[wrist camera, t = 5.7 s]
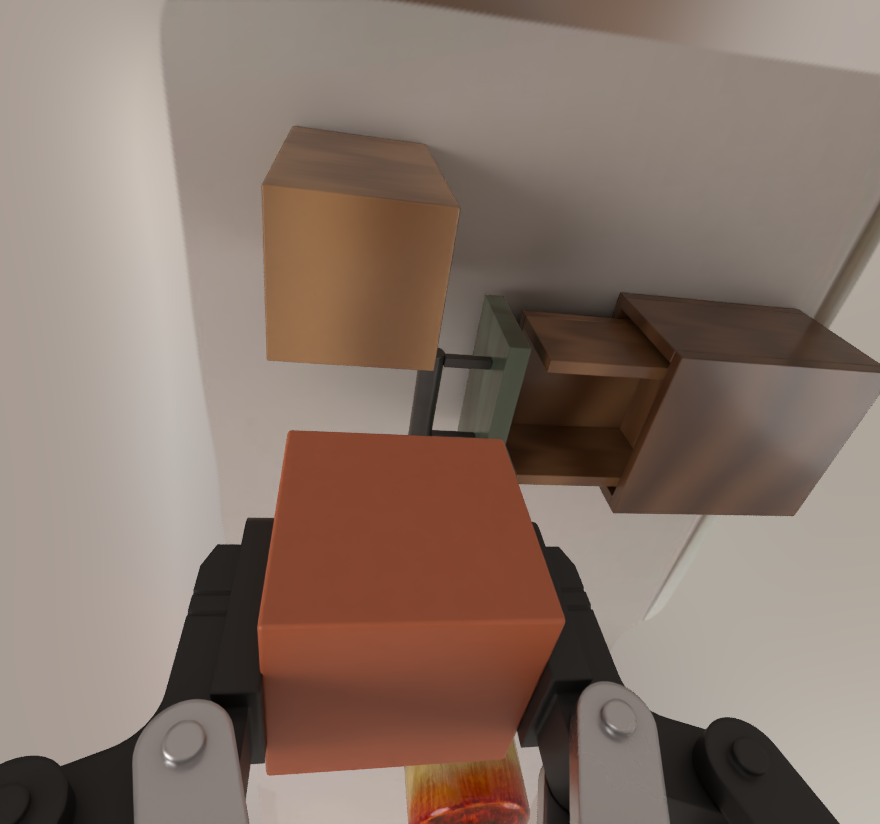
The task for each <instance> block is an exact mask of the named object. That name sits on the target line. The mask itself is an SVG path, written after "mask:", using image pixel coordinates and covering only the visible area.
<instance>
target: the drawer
mask: <svg viewBox="0 0 880 824" xmlns="http://www.w3.org/2000/svg"><path fill="white" fill-rule="evenodd" d="M443 365H444V367H454V368H469V369H470V372H469V377H468V381H467V386H466V391H465V396H464V401H463V406H462V411H461V416H460V420H459V425H458V431H439V430H432V426H433V421H434V415H435V409H436V403H437V398H438V392H439V386H440V380H441V374H442V369H443ZM669 365H670V362H669V361H668V360H667V359H666V357H665V356H664V355H663V354H662V353H661V352H660V351H659V350H658V349H657V347H656V346H655V345H654V344H653V343H652V342H651V341H650V340H649V339H648V337H647V336H646V335H645V334H644V333H643V332H642V331H641V330H640V329H639V327H638V326H637V325H636V324H635V323H634V322H633V321H632V320H628V319H616V318H604V317H593V316H581V315H569V314H558V313H546V312H535V311H523V312H522V316H521V320H520V324H519V325H518V323H517V321H516V319H515V317H514V315H513V313H512V311H511V309H510V307H509V306H508V304H507V302H506V300H505V298H504V296H497V295H485V299H484V304H483V309H482V313H481V318H480V323H479V328H478V333H477V338H476V343H475V347H474V352H473V355H458V354H445V352H444V351H443V350H442V349H440V348H437V355H436V361H435V367H434V370H433V371H426V370H418V371H417V378H416V385H415V392H414V399H413V406H412V413H411V419H410V426H409V433H408V435H416V436H440V437H464V438H488V439H502V440H503V441H504V444H505V447H506V450H507V453H508V456H509V458H510V461H511V464H512V467H513V470H514V473H515V476H516V479H517V481H518V484H533V485H572V486H612V487H617V485H618V482H619V480H620V478H621V476H622V473H623V471H624V469H625V466H626V464H627V462H628V460H629V457H630V455H631V453H632V450H633V448H634V446H635V443H636V441H637V439H638V437H639V434H640V432H641V430H642V427H643V425H644V423H645V421H646V418H647V416H648V414H649V411H650V409H651V407H652V404H653V402H654V400H655V398H656V395H657V393H658V391H659V388H660V386H661V384H662V382H663V379H664V377H665V375H666V372H667V370H668V368H669Z"/></svg>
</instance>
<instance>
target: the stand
mask: <svg viewBox="0 0 880 824" xmlns="http://www.w3.org/2000/svg"><path fill="white" fill-rule="evenodd" d="M261 187H262V220H263V252H264V285H265V317H266V349H267V360H269V361H284V362H300V363H315V364H331V365H347V366H363V367H379V368H395V369H411V370H426V371H433V370H434V367H435V361H436V355H437V348H438V342H439V336H440V330H441V324H442V318H443V312H444V306H445V300H446V293H447V287H448V281H449V275H450V269H451V263H452V257H453V251H454V245H455V239H456V232H457V226H458V220H459V214H460V207H459V205H458V203H457V201H456V199H455V197H454V196H453V194H452V192H451V190H450V188H449V186H448V184H447V183H446V181H445V179H444V177H443V175H442V173H441V172H440V170H439V168H438V166H437V164H436V162H435V160H434V159H433V157H432V155H431V153H430V151H429V149H428V148H427V146H426V145H425V144H419V143H412V142H405V141H398V140H390V139H383V138H376V137H369V136H362V135H355V134H347V133H340V132H333V131H326V130H319V129H311V128H304V127H297V126H292V128H291V130H290V132H289V134H288V136H287V138H286V140H285V142H284V143H283V145H282V147H281V149H280V151H279V153H278V155H277V157H276V159H275V161H274V162H273V164H272V166H271V168H270V170H269V172H268V174H267V176H266V178H265V179H264V181H263V183H262V185H261Z"/></svg>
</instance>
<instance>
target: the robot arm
mask: <svg viewBox="0 0 880 824" xmlns="http://www.w3.org/2000/svg"><path fill="white" fill-rule="evenodd" d="M273 523H274V518H247V521H246V524H245V529H244V534H243V538H242V543H241V545H220V544H218V545H217V546H216V547H215V548H214V549H213V551H212V552H211V553H210V554H209V556H208V557H207V558H206V559H205V561H204V562H203V563H202V564H201V566H200V569H199V572H198V576H197V580H196V584H195V587H194V593H193V595H192V598H191V602H190V605H189V609H188V615H187V617H186V620H185V623H184V627H183V631H182V634H181V638H180V642H179V645H178V649H177V652H176V656H175V660H174V663H173V667H172V670H171V674H170V678H169V681H168V685H167V689H166V692H165V695H164V698H163V701H162V702H161V705H160V706H159V708H158V710H157V711H156V713H155V714H154V716H153V717H152V718H151V719H150V720H149V722H148V723H147V724H146V725H145V726H144V727H143V728H142V729H140V730H139V731H138V732H137V733H136V734H134V735H133V736H132V737H130V738H129V739H127V740H125V741H123V742H122V743H120V744H118V745H116V746H114V747H111V748H109V749H106V750H104V751H101V752H98V753H96V754H93V755H90V756H87V757H85V758H82V759H79V760H76V761H74V762H71V763H68V764H66V765H63V766H60V765H58V763H56V762H55V761H53V760H52V759H49V758H46V757H42V756H24V757H19V758H15V759H12V760H9V761H6V762H4V763H2V764H0V824H249V818H248V813H247V806H246V793H247V785H248V779H249V771H250V764H260V763H265V754H266V728H265V710H264V692H263V674H261V672H260V663H259V647H258V631H257V625H258V619H259V612H260V606H261V600H262V593H263V587H264V581H265V574H266V568H267V562H268V555H269V549H270V543H271V536H272V530H273ZM532 525H533V528H534V530H535V533H536V536H537V539H538V542H539V545H540V548H541V551H542V553H543V556H544V559H545V562H546V565H547V568H548V571H549V574H550V576H551V579H552V582H553V585H554V588H555V591H556V594H557V597H558V600H559V602H560V605H561V608H562V611H563V614H564V617H565V625H564V627H563V629H562V631H561V633H560V636H559V638H558V640H557V642H556V645H555V647H554V649H553V651H552V654H551V656H550V658H549V660H548V662H547V665H546V667H545V669H544V671H543V674H542V676H541V678H540V680H539V683H538V685H537V687H536V689H535V691H534V694H533V696H532V698H531V700H530V703H529V705H528V707H527V709H526V711H525V714H524V716H523V718H522V720H521V723H520V725H519V727H518V729H517V732H518V737H519V741H520V745H521V748H522V747H538V746H539V750H540V754H541V758H542V762H543V766H542V768H541V770H540V773H539V779H538V802H537V803H538V804H537V824H839V822H838V821H837V820H836V819H835V817H834V816H833V815H832V814H831V813H830V811H829V810H828V809H827V808H826V807H825V805H824V804H823V803H822V802H821V800H820V799H819V798H818V797H817V796H816V794H815V793H814V792H813V791H812V790H811V788H810V787H809V786H808V785H807V783H806V782H805V781H804V780H803V778H802V777H801V776H800V775H799V774H798V772H797V771H796V770H795V769H794V768H793V766H792V765H791V764H790V763H789V761H788V760H787V759H786V758H785V757H784V756H783V754H782V753H781V752H780V750H779V749H778V748H777V747H776V746H775V744H774V743H773V742H772V741H771V740H770V739H769V738H768V737H767V736H766V735H765V734H764V733H763V732H761V731H760V730H759V729H757V728H756V727H754V726H752V725H751V724H749V723H747V722H745V721H742V720H739V719H736V718H730V717H725V718H720V719H717V720H715V721H713V722H712V723H711V724H710V725H709V727H708V728H707V729H702V728H699V727H695V726H692V725H689V724H685V723H682V722H679V721H675V720H672V719H669V718H666V717H663V716H660V715H658V714H656V713H654V712H652V711H650V710H649V708H648V707H647V706H646V704H645V703H644V702H643V701H642V700H641V699H640V697H638V696H637V695H636V694H635V693H634V692H632V691H631V690H629V689H628V688H626V687H625V686H624V684H623V683H622V681H621V679H620V677H619V675H618V672H617V670H616V667H615V665H614V662H613V659H612V657H611V654H610V652H609V649H608V647H607V644H606V642H605V639H604V637H603V634H602V632H601V629H600V627H599V624H598V622H597V619H596V617H595V614H594V612H593V610H591V604H590V602H589V599H588V597H587V594H586V592H584V587H583V584H582V582H581V579H580V577H579V574H578V572H577V569H576V567H575V565H574V564H573V563H572V562H571V560H570V559H569V558H568V557H567V556H566V555H565V553H564V552H563V551H562V550H561V549H560V548H559V547H546V546H545V544H544V541H543V538H542V535H541V532H540V530H539V527H538V525H537V524H536V523H535V522H532Z"/></svg>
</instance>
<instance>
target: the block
mask: <svg viewBox="0 0 880 824" xmlns="http://www.w3.org/2000/svg"><path fill="white" fill-rule="evenodd" d="M564 625H565V617H564V614H563V611H562V608H561V605H560V602H559V600H558V597H557V594H556V591H555V588H554V585H553V582H552V579H551V576H550V574H549V571H548V568H547V565H546V562H545V559H544V556H543V553H542V551H541V548H540V545H539V542H538V539H537V536H536V533H535V530H534V528H533V525H532V522H531V519H530V516H529V513H528V510H527V507H526V504H525V502H524V499H523V496H522V493H521V490H520V487H519V484H518V481H517V479H516V476H515V473H514V470H513V467H512V464H511V461H510V458H509V456H508V453H507V450H506V447H505V444H504V441H503V440H502V439H488V438H464V437H440V436H416V435H391V434H367V433H343V432H318V431H294V430H292V431H289V432H288V434H287V441H286V447H285V453H284V460H283V466H282V473H281V479H280V485H279V492H278V498H277V504H276V511H275V517H274V523H273V530H272V536H271V543H270V549H269V555H268V562H267V568H266V574H265V581H264V587H263V593H262V600H261V606H260V612H259V619H258V625H257V631H258V647H259V663H260V672H261V674H263V692H264V710H265V728H266V754H265V761H266V772H267V775H285V774H299V773H314V772H328V771H343V770H357V769H372V768H386V767H401V766H415V765H430V764H444V763H459V762H473V761H488V760H502V759H504V758H505V756H506V754H507V752H508V749H509V747H510V745H511V743H512V740H513V738H514V736H515V734H516V732H517V729H518V727H519V725H520V723H521V720H522V718H523V716H524V714H525V711H526V709H527V707H528V705H529V703H530V700H531V698H532V696H533V694H534V691H535V689H536V687H537V685H538V683H539V680H540V678H541V676H542V674H543V671H544V669H545V667H546V665H547V662H548V660H549V658H550V656H551V654H552V651H553V649H554V647H555V645H556V642H557V640H558V638H559V636H560V633H561V631H562V629H563V627H564Z"/></svg>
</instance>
